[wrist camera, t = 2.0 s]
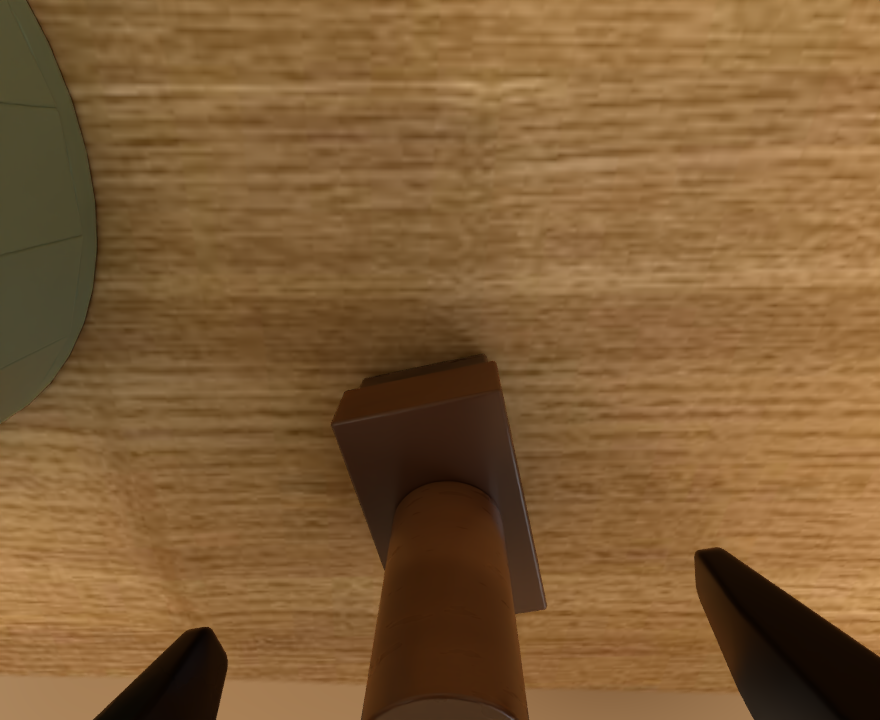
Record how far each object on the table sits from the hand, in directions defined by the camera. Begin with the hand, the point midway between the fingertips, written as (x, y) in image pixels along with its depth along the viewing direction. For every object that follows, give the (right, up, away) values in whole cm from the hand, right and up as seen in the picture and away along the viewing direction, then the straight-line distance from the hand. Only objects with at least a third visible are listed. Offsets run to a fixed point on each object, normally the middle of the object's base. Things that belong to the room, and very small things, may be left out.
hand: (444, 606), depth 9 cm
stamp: (0, +2, +4) cm, 5 cm away
